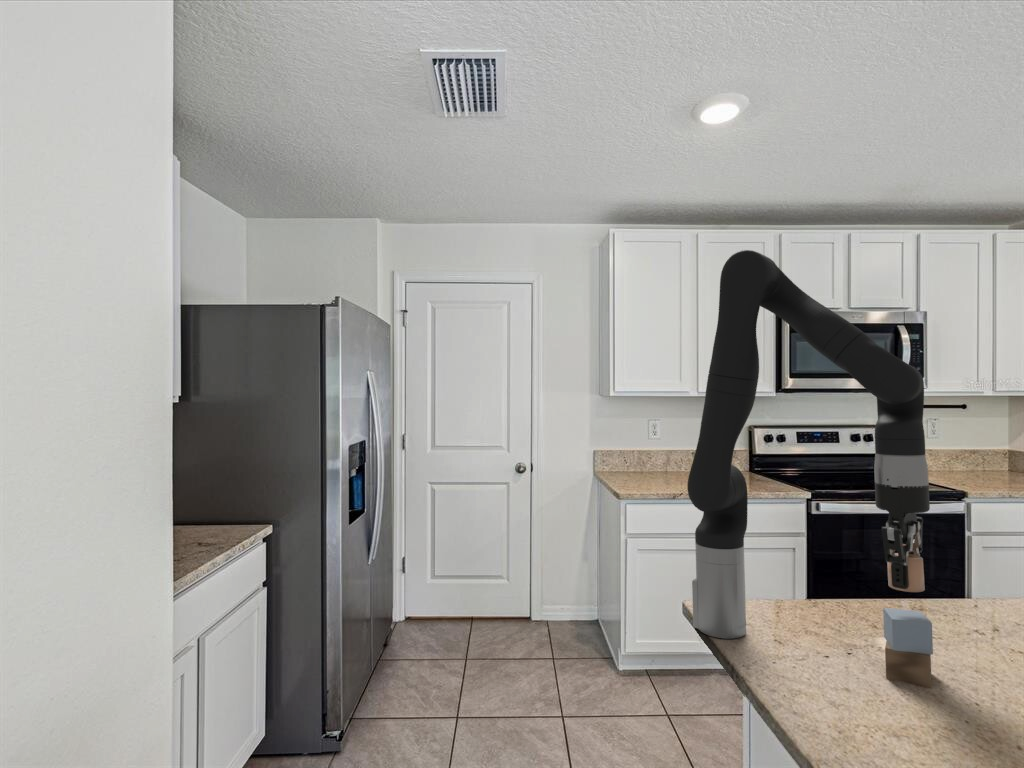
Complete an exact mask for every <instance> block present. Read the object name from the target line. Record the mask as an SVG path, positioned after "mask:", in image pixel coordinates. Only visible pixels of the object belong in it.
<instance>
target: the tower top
mask: <svg viewBox="0 0 1024 768" xmlns="http://www.w3.org/2000/svg"><path fill="white" fill-rule="evenodd" d="M882 610H883V637H884V638H883V639H885V640H886V641H887V642H888V643H889V645H890V646H891V648H892V649H893V650H896V651H905V652H914V653H923V654H931V655H934V645H933V642H934V641H933V623H932V622H931V620H930V619H929V618H928V617H927V616H926V614H924V613H923V612H922V611H921V610H912V609H911V610H909V609H904V608H903V609H902V608H901V609H900V608H890V607H883V608H882ZM886 641H885V642H886Z"/></svg>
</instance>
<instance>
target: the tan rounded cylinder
mask: <svg viewBox="0 0 1024 768" xmlns="http://www.w3.org/2000/svg"><path fill="white" fill-rule="evenodd" d="M895 555H896V556H898V552H895ZM908 562H909V563H908V579H909V587H908V588H907V589H901V588H896V587H893V585H892V575H891V564H890V563H889V562H886V563H887V566H886V567H887V581H888V583H887V584H888V587H889V588H891V589H893V590H896V591H900V592H901V591H902V592H906V593H907V592H908V593H921V592H924V591H925V590H926V589H925V573H924V572H925V570H924V558H923V557H922V556H921V555H920V556H916V555H912V554H909V556H908Z"/></svg>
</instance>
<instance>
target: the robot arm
mask: <svg viewBox="0 0 1024 768" xmlns="http://www.w3.org/2000/svg"><path fill="white" fill-rule="evenodd" d="M721 269H722V270H721V273H720V280H719V297H718V314H717V315H718V316H717V324H716V330H715V336H714V341H713V348H712V353H711V359H710V364H709V370H708V374H707V375H708V376H707V382H706V387H705V397H704V404H703V410H702V414H701V422H700V429H699V435H698V440H697V444H696V448H695V452H694V456H693V459H692V463H691V466H690V471H689V475H688V479H687V486H686V487H687V493H688V498H689V500H690V501H691V503H692V505H693V506H694V507H695V508H696V509H697V510H699V511H701V512H702V513H703V514H702V517H701V520H700V522H699V523H698V525H697V527H696V528H695V532H694V533H695V534H694V535H695V537H694V540H695V542H694V543H695V572H696V577H695V578H694V579H693V580H691V585H692V586H691V588H692V589H691V590H692V591H691V593H692V594H691V595H692V626H693V628H695V629H697V630H698V631H699V632H701V633H703V634H705V635H706V636H710V637H713V638H718V639H720V638H721V639H727V640H729V639H733V640H734V639H738V638H743V637H744V636H745V635H746V634H747V614H746V613H747V610H746V608H747V607H746V605H747V604H746V579H745V578H746V573H745V569H746V568H745V567H746V566H745V543H744V542H745V541H744V540H745V534H746V532H747V529H748V503H749V501H748V486H747V485H748V484H747V482H746V477H745V476H744V474H743V471H741V470H740V469H739V468H738V467H736V466H735V465H733V464H732V462H733V456H734V451H735V447H736V444H737V441H738V439H739V437H740V434H741V432H742V431H743V428H744V426H745V425H746V422H747V421H748V418H749V416H750V414H751V412H752V410H753V408H754V405H755V401H756V396H757V395H756V394H757V389H758V383H759V377H760V376H759V374H760V356H759V347H758V337H757V323H758V316H759V311H760V308H763V309H765V310H767V311H769V312H771V313H773V314H774V315H776V316H777V317H779V319H781V320H783V321H784V322H785V323H787V325H788V326H790V327H791V328H792V329H793V330H794V331H795V332H796V333H797V334H798V335H799V336H800V337H801V338H802V339H803V340H804V341H805V342H806V343H807V344H809V345H810V346H811V347H812V348H813V349H815V351H817V352H818V353H819V354H821V355H822V356H824V357H825V358H826V359H827V360H829V361H830V362H831V363H832V364H834V365H836V366H837V367H839V368H840V369H842V370H843V371H846V372H847V373H848V374H849V375H850V376H851V377H852V378H853V379H854V381H857V383H858V384H860V385H861V386H862V387H863V388H864V389H866V391H868V392H869V393H870V394H871V395H873V396H874V397H876V407H877V409H876V411H877V421H876V422H875V425H874V447H875V448H874V452H875V455H874V467H873V468H874V492H875V493H874V497H875V507H876V508H877V509H880V510H882V511H886V512H888V520H886V523H885V526H881V530H880V531H881V535H882V547H883V551H884V552H883V553H884V560H885V562H886V563H887V562H889V563H890V564H891V575H892V585H893V587H896V588H901V589H907V588H908V587H909V579H908V563H909V562H908V556H909V554H912V555H916V556H920V557H921V554H920V553H922V552H923V529H924V528H923V527H924V526H923V525H924V524H923V523H924V519H923V517H921V516H917V514H923V513H927V512H928V511H930V508H931V506H930V486H929V484H930V483H929V480H930V479H929V468H928V462H927V457H926V436H925V429H924V423H923V420H924V419H923V418H924V405H925V404H924V403H925V384H924V383H925V382H924V377H923V375H922V373H921V372H920V371H919V370H918V369H917V368H916V367H915V366H913V365H911V364H909V363H908V362H905V361H904V360H903V359H900V358H899V357H897V356H896V355H895V354H893V353H891V352H890V351H888V350H887V349H885V348H883V347H882V346H881V345H879V344H877V343H876V341H875V340H874V339H873V338H872V337H871V336H870V335H868V334H867V333H865V332H864V331H863V330H861V329H860V328H858V327H857V326H855V325H854V324H852V323H851V322H850V321H848V320H847V319H846V318H844V317H842V316H840V315H839V314H838V313H836V312H835V311H833V310H831V309H829V308H828V307H827V306H825V305H823V304H821V303H820V302H818V301H817V300H815V299H814V298H813V297H812V296H810V295H809V294H807V293H806V292H805V291H803V290H802V289H801V288H800V287H798V286H797V285H796V283H794V282H793V281H792V279H790V278H789V277H788V276H787V275H786V274H785V273H784V272H783V271H782V269H780V267H778V265H777V264H776V262H775V261H774V260H773V259H771V258H770V257H768V256H766V255H764V254H762V253H760V252H758V251H755V250H752V249H744V250H743V249H742V250H739V251H736V252H734V253H733V254H732V255H731V256H729V258H728V259H727V260H726V261H725V263H724V264H723V267H722V268H721ZM895 551H897V553H898V556H896V555H895V553H896V552H895Z"/></svg>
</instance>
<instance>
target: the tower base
mask: <svg viewBox="0 0 1024 768" xmlns="http://www.w3.org/2000/svg"><path fill="white" fill-rule="evenodd" d="M884 655H885V657H884V658H885V679H886V680H892V681H896V682H900V683H904V684H909V685H912V686H919V687H923V688H926V689H930V690H931V689H932V656H931V654H923V653H914V652H905V651H896V650H893V649H892V648H891V646H890V645H889V643H888V642H887V641H885V646H884Z"/></svg>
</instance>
